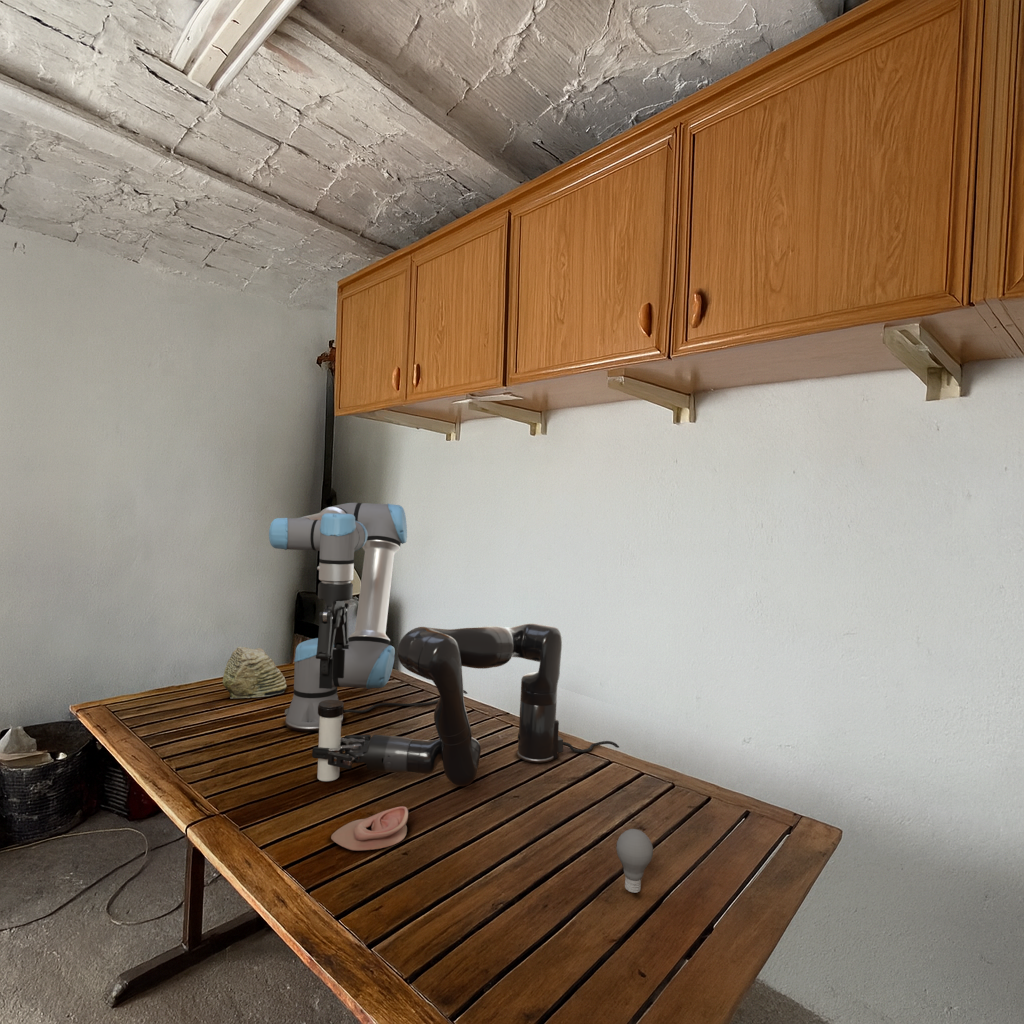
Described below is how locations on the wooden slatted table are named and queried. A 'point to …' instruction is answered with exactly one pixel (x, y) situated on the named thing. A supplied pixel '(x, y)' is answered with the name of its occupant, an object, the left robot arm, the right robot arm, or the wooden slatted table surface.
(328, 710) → the lid
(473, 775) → the right robot arm
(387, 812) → the anatomical model
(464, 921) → the wooden slatted table surface
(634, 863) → the light bulb
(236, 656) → the fossil
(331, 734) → the jar
